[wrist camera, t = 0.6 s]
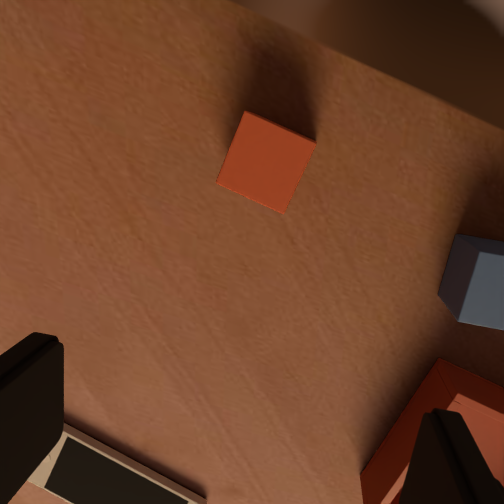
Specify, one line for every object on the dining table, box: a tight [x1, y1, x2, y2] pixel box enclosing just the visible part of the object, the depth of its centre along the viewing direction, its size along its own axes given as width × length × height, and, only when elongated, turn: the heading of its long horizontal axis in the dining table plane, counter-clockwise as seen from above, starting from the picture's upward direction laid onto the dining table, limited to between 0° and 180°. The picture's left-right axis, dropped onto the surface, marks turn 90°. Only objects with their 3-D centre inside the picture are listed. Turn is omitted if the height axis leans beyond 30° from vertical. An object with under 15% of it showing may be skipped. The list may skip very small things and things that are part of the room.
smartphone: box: [27, 423, 207, 504], centre depth 38 cm, size 7×16×1 cm, turn 63°
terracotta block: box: [216, 111, 316, 214], centre depth 27 cm, size 4×4×4 cm
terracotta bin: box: [360, 358, 504, 504], centre depth 31 cm, size 12×12×4 cm
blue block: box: [438, 234, 504, 330], centre depth 27 cm, size 4×4×4 cm
